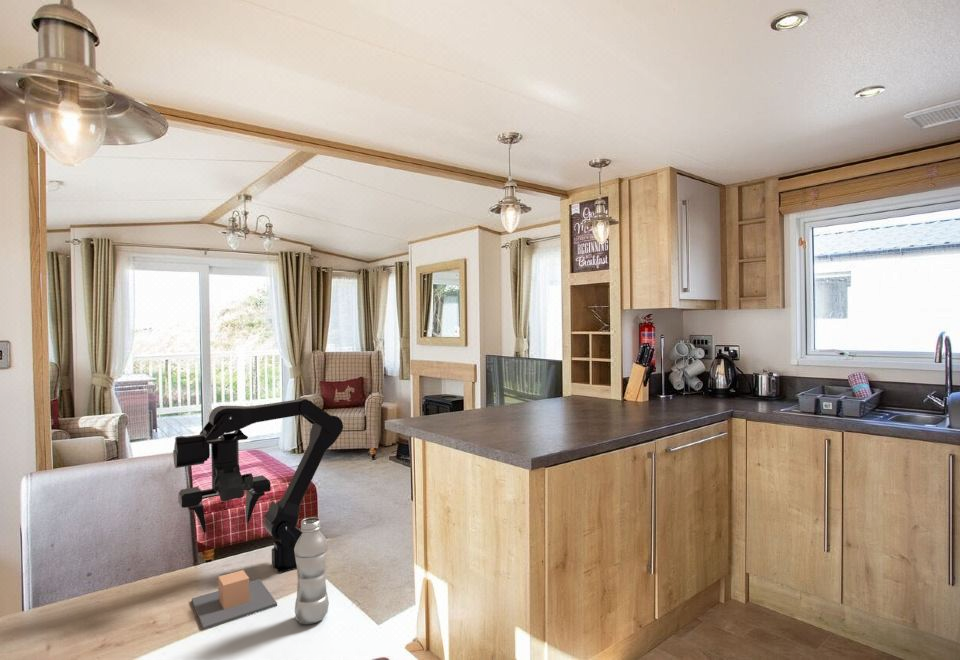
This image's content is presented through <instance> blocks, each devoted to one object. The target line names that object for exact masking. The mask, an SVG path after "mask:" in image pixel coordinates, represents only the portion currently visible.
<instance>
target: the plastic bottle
mask: <svg viewBox="0 0 960 660" xmlns="http://www.w3.org/2000/svg"><path fill="white" fill-rule="evenodd" d="M321 529H322V527H321V519H320V518H319V517H316V516H315V517H313V516H312V517H307V518H304V519H302V520H301V522H300V530H301V532H302V534H301V536H300V537H299V539H298V541H297V542H296V545H295V548H294V552H295V559H296V565H297V568H296V575H297V590H296V598H295V602H294V603H295V604H294V615H295V619H296V621H298V622H299V623H300V624H302V625H312V624H315V623H318V622H320V621H322V620H324V618H325V617H326V616H327V614H328V610H329V607H330V606H329V604H330V602H329V596H328V592H327V583H326V582H327V581H326V563H327V557H328V541H327V538H326V537H325V535H324V534H323V533H322V532H321V531H320V530H321Z"/></svg>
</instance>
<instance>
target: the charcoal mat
mask: <svg viewBox="0 0 960 660" xmlns="http://www.w3.org/2000/svg"><path fill="white" fill-rule="evenodd" d="M191 603H192V605H193V608H194V610H195V612H196V615H197V618H198V620H199V623H200V625H201V627H202V630H203V631H205V630H209V629H211V628H214V627H218V626H220V625H223V624H226V623H229V622H231V621H232V622H233V621H235V620H238V619H241V618H244V617H247V615H248V616H251V615H253V613H254V614H256V613H255V612H257V613H260V612H263V611H266V610H268V609H269V610H270V609H272V608H275V607H278V602H277V601H276V600H275V598H274V596H273V595H272V594H271V593H270V591H269V590H268V588H267V587H266V585H265V584H264V583H263V581H262V580H261V579H260V578H257V579H254V580H249V602H246V603H243V604H240V605H237V606H234V607H230V608H227V609H223V607H222V605H221V603H220V601H219V590H216V591H212V592H209V593H206V594H202V595H198V596H196V597H192V598H191ZM262 610H263V611H262ZM259 611H260V612H259ZM250 614H251V615H250Z"/></svg>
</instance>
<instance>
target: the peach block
mask: <svg viewBox="0 0 960 660" xmlns="http://www.w3.org/2000/svg"><path fill="white" fill-rule="evenodd" d="M217 580H218V591H219V601H220V603H221V605H222V607H223V609H227V608H230V607H234V606H237V605H240V604H243V603H246V602H249V582H250V577H249V576H248V575H247V573H246V572H245V571H244V569H242V570H238V571H234V572H231V573H228V574H223V575H220V576H218V579H217Z"/></svg>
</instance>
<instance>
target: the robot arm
mask: <svg viewBox="0 0 960 660" xmlns="http://www.w3.org/2000/svg"><path fill="white" fill-rule="evenodd" d="M296 416H302V417H303V418H304V419H305V420H306V421H307V422H309V423H310V424H311V428H310V432H309V439H308V441H309V442H308V445H307V448H306V450H305V451H304V454H303V456H302V457H301V460H300V461H299V463H298V466H297V468H296V470H295V472H294V474H293V476H292V478H291V480H290V482H289V484H288V486H287V488H286V490H285V492H284V494H283V496H282V498H280V500H278V501H277V502H274V501H271V502H270V505H269V506H268V510H267V511H266V513H265V514H263V518H264V521H263V522H264V523H263V525H264V530H265V531H266V532H267V533H268V534H269V535H270V536H271V537H272V538H273V539H274V541H273V548H272V549H271V566H272V567H273V568H274V569H275V570H276V571H277V572H278V573H279V574H281V573H285V572H288V571H290V570H291V571H292V570H294V569H295V570H296V569H297V565H296V559H295V552H294V548H295V545H296V542H297V541H298V539H299V537H300V536H301V534H302V532H301V529H300V528H299V527H297V526H298V525H297V524H298V522H299V519H300V507H301V503H302V501H303V500H304V497H305V495H306V493H307V490H308V489H309V487H310V485H311V482H312V481H313V479H314V476H315V474H316V472H317V470H318V468H319V465H320V464H321V461H322V460H323V457H324V455H325V453H326V452H327V450H329V448H330V447H332V446H333V445H334V443H336V442H337V439H338V438H339V437H340V435H341V434H342V432H343V429H344V423H343V421H342V419H341V418H340V417H338V416H337V415H333V414H330V413H328V412H326V411H325V410H323V409H322V408H320V407H319V406H318V405H316V404H315V403H314V402H313V401H312V400H310V399H308V398H305V397H299V398H296V399H291V400H285V401H280V402H279V401H278V402H272V403H266V404H257V405H253V406H252V405H251V406H248V405H247V406H244V405H219V406H216V407H214V408H213V409H212V410H211V411H210V413H209V417H208V422H207V423H206V424H205V425H204V427H203V428H202V429H201V430H200V432H199V434H196V435H189V436H188V435H187V436H185V435H180V436H175V438H174V441H175V442H174V448H173V451H172V455H173V456H172V457H173V466H174V469H178V468H179V469H180V468H186V467H192V466H200V465H204V464H205V462H206V461H208V460H209V459H210V458H211V488H208V489H202V490H201V489H200V487H198V486H195V487H189V488H183V489H181V490H179V492H178V496H177V497H178V504H179V506H180V507H181V508H187V509H188V511H194V512H195V513H194V514H195V515H196V517H197V520H198V523H199V524H200V527H201V530H202V532H203V534H206V533H207V524H206V517H205V510H204V508H205V507H204V504H203V503H202V502H203V500H204V499H209V498H215V497H219V499H220V501H221V502H228V501H230V500H238V499H243V498H244V496H246V497H245V523H246V524H249V523H250V521H251V517H252V515H253V512H254V508H255V506H256V504H257V502H258V500H259V499H260V498H261V497H262V496H265V495H266V494H265V493H267V492H271V487H272V486H271V481H270V480H269V479H268V478H267V477H266V476H264V475H263V474H262V475H256V476H253V473H251V472H250V473H245V474H241V473H242V472H241V469H240V465H239V464H240V457H239V456H240V455H239V454H240V452H239V441H242V440H248V438H249V436H247V435H246V434H245V433H244V432H243V431H242V430H241V429H245V428H246V427H248V426H250V425H252V424H256V423H263V422H269V421H273V420H278V419H279V420H280V419H287V418H292V417H296ZM210 445H211V446H210ZM210 447H211V448H210ZM210 449H211V451H210ZM210 455H211V456H210Z"/></svg>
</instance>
